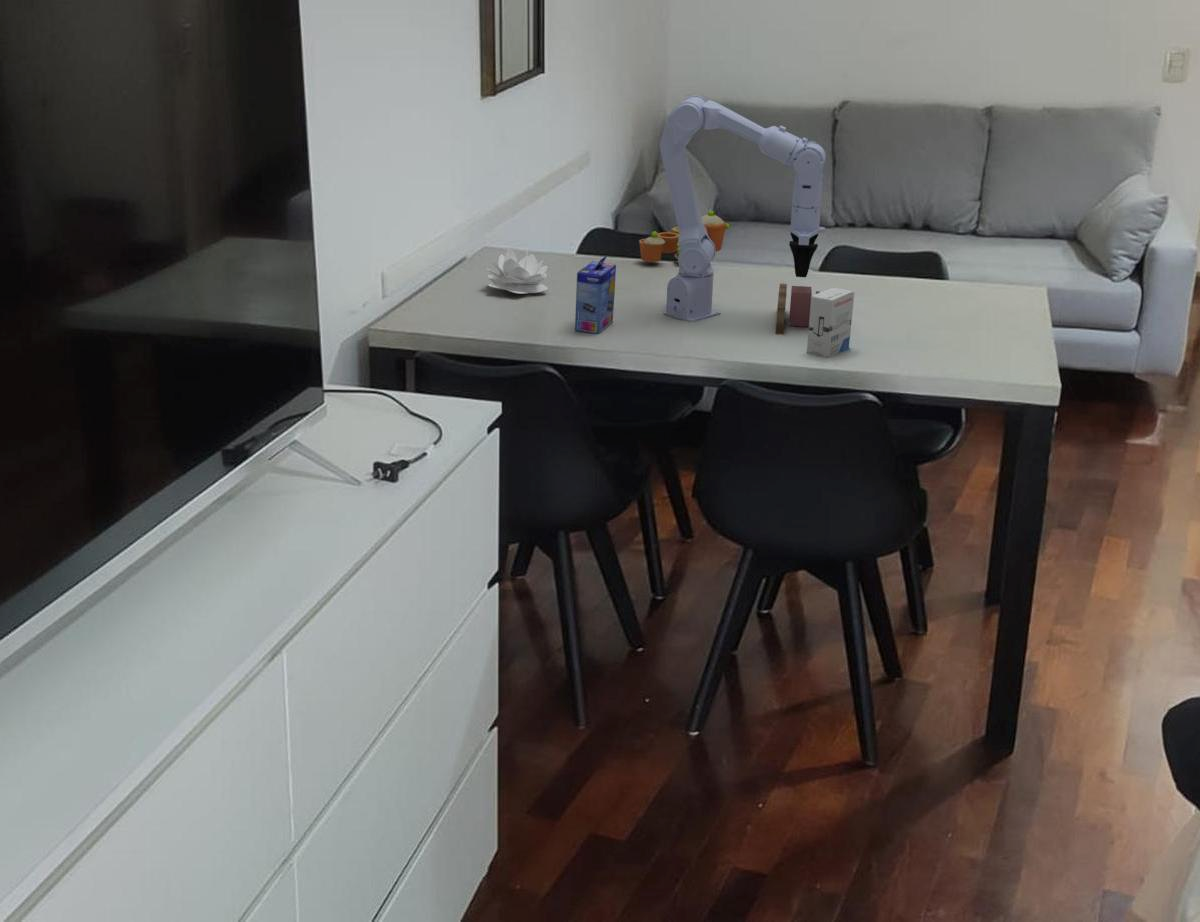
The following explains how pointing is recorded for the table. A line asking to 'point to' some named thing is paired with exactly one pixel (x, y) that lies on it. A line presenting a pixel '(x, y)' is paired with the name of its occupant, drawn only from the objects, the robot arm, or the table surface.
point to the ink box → (830, 322)
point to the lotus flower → (518, 274)
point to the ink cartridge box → (595, 297)
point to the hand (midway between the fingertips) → (801, 271)
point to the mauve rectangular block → (800, 306)
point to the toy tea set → (669, 240)
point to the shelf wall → (781, 308)
